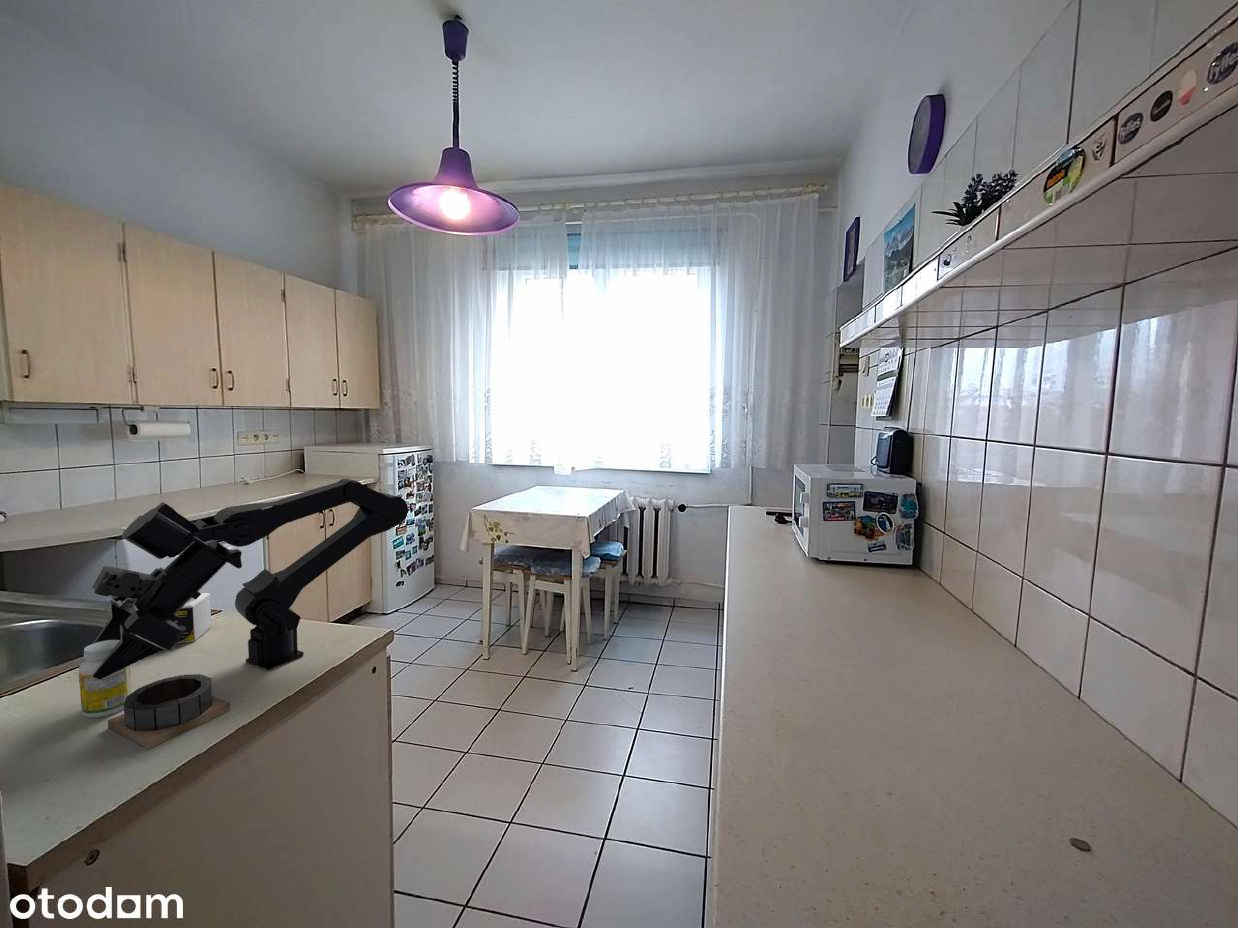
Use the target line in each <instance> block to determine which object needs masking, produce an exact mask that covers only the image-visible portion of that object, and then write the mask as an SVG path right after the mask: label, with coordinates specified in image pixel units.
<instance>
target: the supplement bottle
mask: <svg viewBox="0 0 1238 928" xmlns="http://www.w3.org/2000/svg"><path fill="white" fill-rule="evenodd" d="M119 641H120V640H107V641H101V642H97V643H94V642H93V643H94V644H93V643H92V644H90V645H89V644H88V645H87V646H85V647H84V648H83V657H84V659H85V661H83V662H82V663H81V664H80V666H79V668H78V679H79V680H78V682H79V684H78V685H79V693H80V695H79V696H80V706H81V713H82V715H83V716H84V717H86V718H93V719H95V718H102V717H108V716H110V714H111V715H113V714H116V713H119V712H121V711H124V702H125V699H126V697H127V696H128V695H130V694H131V693H132V682H131V668H130V667H131V665H129V666H127V667H125V668H123V669H121V670H119V671H117V672H115V673H113V674H111V675H109V676H107V677H105V678H103V679H97V678H94V677H93V674H94V673H95V671H96V670H97V669H98V667H99V666H100V665H101V663H102V662H103V661H104V660H105V658H106V657H107V656H108V655H109V653H110V652H111V651H112V650H113V648H114V647H115V646H116V645H117V643H118V642H119Z"/></svg>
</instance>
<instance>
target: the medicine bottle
mask: <svg viewBox="0 0 1238 928" xmlns="http://www.w3.org/2000/svg"><path fill="white" fill-rule="evenodd" d="M200 591H201V590H199V592H200ZM200 593H201V592H200ZM211 612H212V610H211V595H210V593H208V592H206V593H205V592H204V593H201V595H200V596H199V597H198V598H197V599H196V600H195V599H194V598H191V599H190V600H189V601H188V602H187V603H186V604H185V605H184V606H183V607H182V608H181V609H180V610H179V611H178V612H177V613H176V614H177V616H178V618H177V619H176V620H175V621H174V623H176V624H177V626H178V627H179V629H180V630H181V639H180V640H179V641H178V642H177V643H176V644H185V643H186V644H187V643H195V642H196V641H197V640H198V639H199V638H200V637H201V636H202V635H203V636H204V634H205V633H206V632H207V631H209V630H210V629H211V628H212V613H211Z"/></svg>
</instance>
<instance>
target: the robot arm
mask: <svg viewBox="0 0 1238 928" xmlns="http://www.w3.org/2000/svg"><path fill="white" fill-rule="evenodd" d="M348 503H351V504H353V505H355V506H356V507H358V509H357V511H356V513H355V514H354V516H353V517H352V519H351V520H349V521H348V522H347V523H345V524H344V525H343V526H341V527H340V528H339V529H337V530H336V531H335V532H333V533H332V534H330V535H329V536H328V537H327V538H325V539H323V540H322V541H321V542H319V543H318V544H317V545H316V546H314V547H313V548H311V549H310V550H309V551H307V552H306V553H305V554H303V555H302V556H300V558H298V559H297V560H295V561H294V562H293V563H291V564H290V565H288V566H287V567H286V568H284V569H283V570H280V571H277V572H275V573H272V572H271V571H270V570H268V569H265V568H264V569H263V570H262V571H260V572H259V573H258V574H257V575H256V576H255V577H253V578H252V579H251V580H249V581H247V582H243V583H242V586H243V588H241V590H240V591H238V592H237V594H236V597H235V601H234V606H235V607H234V608H235V609H236V611H237V613H239V615H241V616H242V617H243V618H244V619H245V620H246V621H247V622H248V623H250V624H251V625H253V626H255V627H254V628H251V629H250V630H249V632H250V633H249V634H250V635H249V637H250V638H249V639H248V641H247V648H248V657H247V658H246V659H245V663H247V664H249V665H252V666H254V667H257V668H261V669H264V670H267V671H269V670H273V669H276V668H277V667H280V666H282V665H285V664H287V663H290V662H291V661H293V660H296V659H298V658H300V657H302V656H304V655H305V652H304V651H302V650H298V627H299V623H300V621H301V616H300V615H299V614H298V613H297V612H295V611H294V610H293V609H291V607H292V606H293V605H294V603H295V601H296V600H297V598H298V597H299V595H300V593H301V591H302V590H303V589H305V587H307V586H308V585H309V584H311V583H312V582H313V581H314V580H316V579H317V578H318V577H319V576H321V575H323V574H324V573H325V572H327V570H329V569H330V568H332V566H334V565H335V564H337V563H338V562H339V561H340V560H341V559H343V558H344V557H346V556H347V555H348V554H349V553H351V552H352V551H353V550H354V549H356V548H357V547H358V546H360V545H361V544H362V543H364V542H365V541H366V540H367V539H369V538H370V537H374V536H375V535H380V534H382V533H385V532H387V531H390V530H391V529H393V528H395V527H396V526H398V525H400V524H403V522H404V521H405V520H406V519H407V517H408V512H409V506H408V504H407V502H406V500H405V499H404V498H402V497H400V496H398V495H393V494H389V493H386V492H380V491H376V490H375V489H372V488H370V487H368V486H366V485H364V484H362V483H361V482H359V480H354V479H352V478H342V479H340V480H338V481H335V482H332V483H330V484H329V483H328V484H325V485H323V486H320V487H317V488H314V489H313V488H312V489H310V490H307V491H303V492H300V493H297V494H294V495H290V496H287V497H283V498H280V499H277V500H274V501H268V502H255V503H246V504H238V505H232V506H227V507H224V508H223V509H220V510H219V511H217V512H216V514H214V515H210V516H207V517H205V516H204V517H201V518H197V519H191V520H190V519H187V518H186V517H185V516H183V515H182V514H180V513H178V512H177V510H175V508H173V507H172V506H170V505H169V504H168V503H166V502H164V501H163V502H160V503H159V504H158V505H156V507H154V508H151V509H149V510H148V511H147V512H145V513H144V514H142V515H139V516H138V517H137V518H135V519H134V520H133V521H132V522H131V523H130V524H129V525H128V526H127V528H126V529H125V530H124V531H123V533H122V535H121V538H122V539H124V540H125V541H127V542H129V543H130V544H132V545H133V546H135V547H137V548H139V549H141V550H142V551H144V552H146V553H148V554H149V555H151V556H153V557H155V558H156V559H158V560H163V559H164V558H167V557H168V558H170V559H171V558H174V557H175V558H174V559H173V560H172V561H171V562H170V563H169V564H168V565H167V566H166V567H165V568H163V567H160V568H158V567H157V568H155V569H154V570H153V571H152V572H151V573H150V574H149V573H144V572H140V571H135V570H131V569H126V568H125V569H124V568H120V567H113V566H109V565H108V566H106V565H105V566H103V567H102V569H101V571H100V572H99V574H98V576H97V577H96V580H95V582H94V583H93V585H92V587H91V588H92V589H94V591H93V592H94V594H95V595H98V596H103V597H109V596H111V598H112V600H109V611H110V617H109V619H108V620H107V621H106V623H105V624H104V627H103V628H102V629H101V631H100V632H99V634H98V636H96V638H95V640H94V641H93V642H92V644H94V643H97V642H101V641H107V640H120V641H119V642H118V643H117V645H116V646H115V647H114V648H113V650H112V651H111V652H110V653H109V655H108V656H107V657H106V658H105V660H104V661H103V662H102V663H101V665H100V666H99V667H98V669H97V670H96V671H95V673H94V674H93V677H94V678H97V679H103V678H105V677H107V676H109V675H111V674H113V673H115V672H117V671H119V670H121V669H123V668H125V667H127V666H129V665H130V666H131V665H134V664H135V663H137V662H139V661H141V660H144V659H146V658H149V657H151V656H153V655H154V654H155V655H156V654H157V653H162V652H164V651H165V650H167V651H171V650H172V649H173V647H174V646H176V644H178V643H177V642H178V641H179V640H180V639H181V630H180V629H179V627H178V626H177V624H176V623H174V621H175V620H176V619H177V618H178V616H177V614H176V613H177V612H178V611H179V610H180V609H181V608H182V607H183V606H184V605H185V604H186V603H187V602H188V601H189V600H190V599H191V598H194V599H195V600H196V599H197V598H198V597H199V596H200V595H201V592H199V591H201V589H202V588H203V587H204V586H205V585H206V584H207V583H208V582H209V581H210V580H211V579H212V578H213V577H214V576H215V575H216V574H217V573H218V572H219V571H220V570H221V569H223V567H224V566H225V565H226V564H227V563H228V564H230V565H231V566H233V567H234V568H237V569H239V570H240V569H241V568H242V567H243V563H242V553H243V552H242V550H240V549H238V548H242V547H246V546H250V545H251V544H254V543H256V542H258V541H259V540H262V539H264V538H265V537H267V536H269V535H271V534H273V532H274V531H276V530H277V529H279V528H280V527H282V526H284V525H286V524H289V523H292V522H295V521H298V520H300V519H303V518H307V517H309V516H312V515H315V514H318V513H321V512H324V511H327V510H330V509H333V508H336V507H340V506H342V505H345V504H348ZM197 534H199V535H201V536H202V537H204V538H206V539H207V540H209V541H210V542H208V543H206V542H205V541H203V540H201V539H200V538H198V537H197V536H196V535H197ZM218 541H221V542H222V541H223V542H225V543H226V544H228V545H230V546H233V547H237V548H235V549H229V548H228V547H226V546H225V545H223V544H222V543H220V542H218Z"/></svg>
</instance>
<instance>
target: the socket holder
mask: <svg viewBox="0 0 1238 928" xmlns="http://www.w3.org/2000/svg"><path fill="white" fill-rule="evenodd" d="M212 683H213V682H212V677H209V676H207V675H205V674H204V675H203V674H199V673H198V674H179V675H175V676H170V677H166V678H165V677H164V678H162V679H158V680H156V681H153V682H151V683H148V684H145V685H142V686H141V687H139V688H137V689H136V690H134V691H133V692H131V694H130V695H128V696H127V697H126V699H125V702H124V709H123V713H122V714H120V715H118V716H117V715H116V716H115V717H112V718H110V719H108V720H107V728H108V729H109V730H110V731H113V732H115V733H116V734H118V735H120V736H122V737H124V738H126V739H128V740H130V741H132V742H134V743H136V744H139V745H140V746H142V747H144V748H146V749H148V750H149V749H152V748H154V747H155V746H158V745H160V744H163V743H164V742H166V741H168V740H170V739H172V738H174V737H177V736H178V735H181V734H183V733H186V732H187V731H189V730H191V729H192V730H193V728H196V727H198V726H199V725H202V724H204V723H206V722H208V721H210V720H212V719H214V718H216V717H219V716H221V715H223V714H225V713H227V712H230V711H231V702H230V701H227V700H225V699H222V698H220V697H217V696H215V695H213V684H212Z"/></svg>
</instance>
